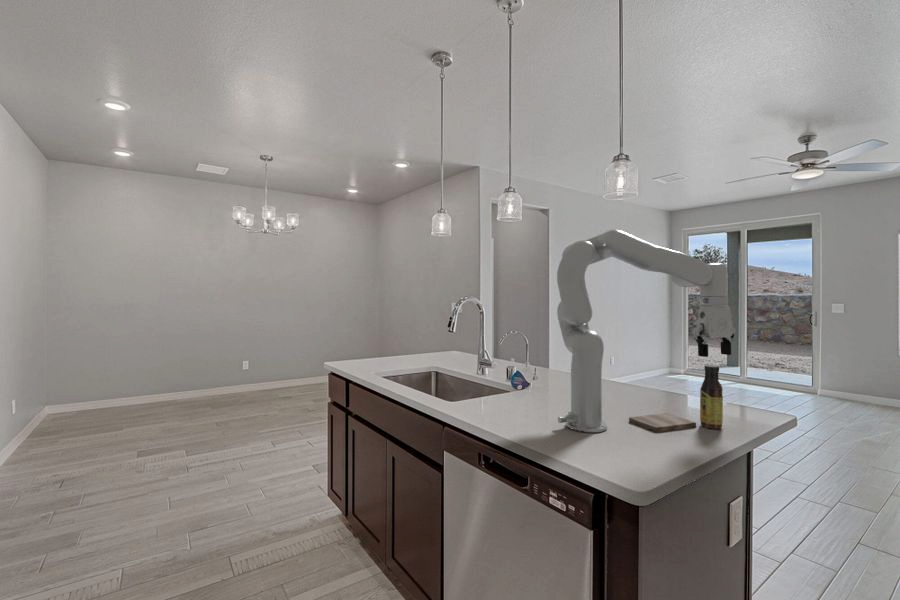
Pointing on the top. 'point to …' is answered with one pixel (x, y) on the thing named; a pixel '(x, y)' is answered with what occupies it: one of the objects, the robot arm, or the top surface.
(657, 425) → the walnut board
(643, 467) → the top surface
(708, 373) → the sauce bottle
